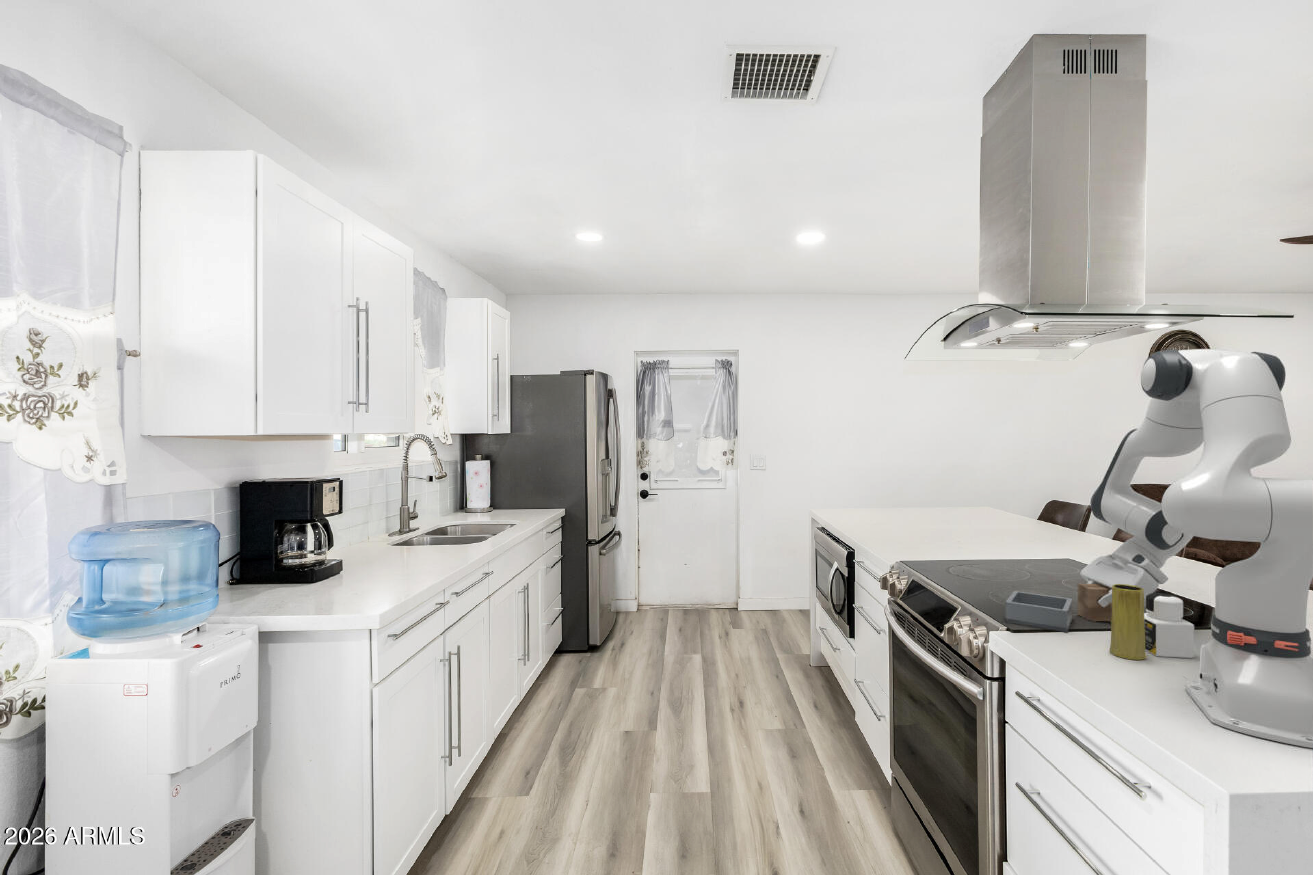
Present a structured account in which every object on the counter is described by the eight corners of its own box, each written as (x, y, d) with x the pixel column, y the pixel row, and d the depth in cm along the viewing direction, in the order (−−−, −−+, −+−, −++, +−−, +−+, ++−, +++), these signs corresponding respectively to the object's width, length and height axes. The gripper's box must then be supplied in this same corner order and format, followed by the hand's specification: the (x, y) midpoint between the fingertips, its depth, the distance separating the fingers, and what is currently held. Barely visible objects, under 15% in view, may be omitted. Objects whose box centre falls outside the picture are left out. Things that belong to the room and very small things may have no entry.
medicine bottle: (1135, 644, 132) (1135, 590, 132) (1172, 646, 131) (1173, 591, 131) (1155, 656, 125) (1155, 599, 125) (1194, 658, 124) (1195, 600, 124)
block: (1111, 621, 148) (1111, 589, 147) (1089, 621, 148) (1089, 588, 148) (1099, 615, 153) (1099, 583, 152) (1077, 614, 153) (1077, 583, 153)
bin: (1067, 632, 140) (1067, 611, 140) (1005, 622, 148) (1005, 601, 148) (1072, 618, 150) (1072, 598, 150) (1014, 609, 158) (1014, 590, 158)
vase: (1110, 656, 126) (1110, 588, 126) (1108, 647, 131) (1108, 581, 131) (1147, 662, 122) (1147, 592, 122) (1144, 653, 127) (1144, 585, 127)
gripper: (1099, 544, 160) (1059, 581, 161) (1152, 562, 139) (1106, 603, 141) (1117, 561, 159) (1077, 598, 160) (1173, 581, 139) (1127, 622, 140)
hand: (1091, 600), depth 150 cm, fingers closed on block, 5 cm apart
